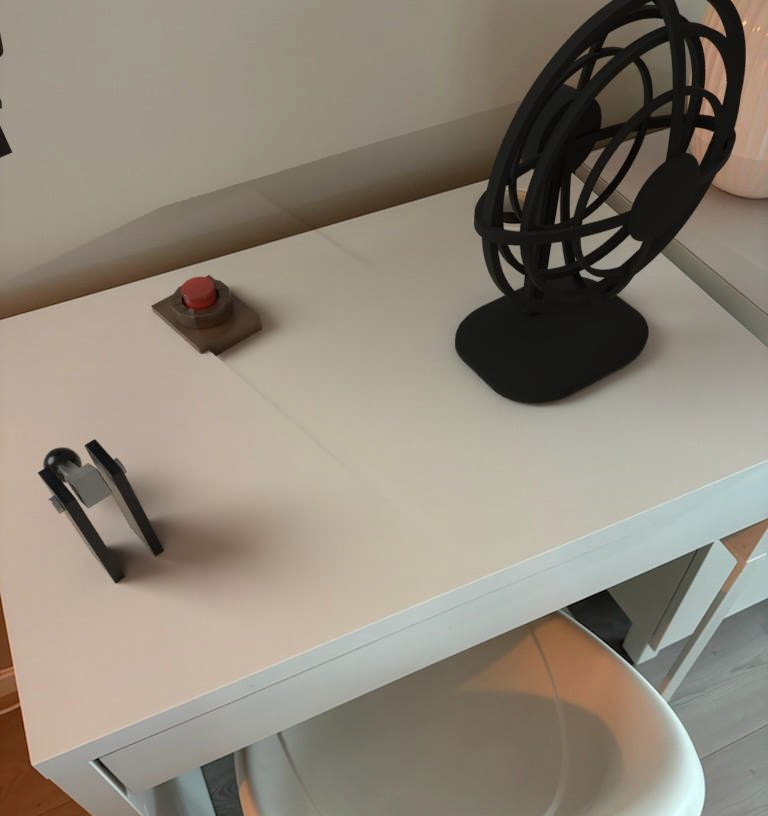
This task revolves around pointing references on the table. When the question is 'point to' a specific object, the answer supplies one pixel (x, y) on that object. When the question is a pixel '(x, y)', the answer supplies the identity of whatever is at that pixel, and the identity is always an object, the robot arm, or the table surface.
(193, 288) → the button
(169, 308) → the button block
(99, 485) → the lever
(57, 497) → the bracket
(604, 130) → the desk fan
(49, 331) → the table surface
